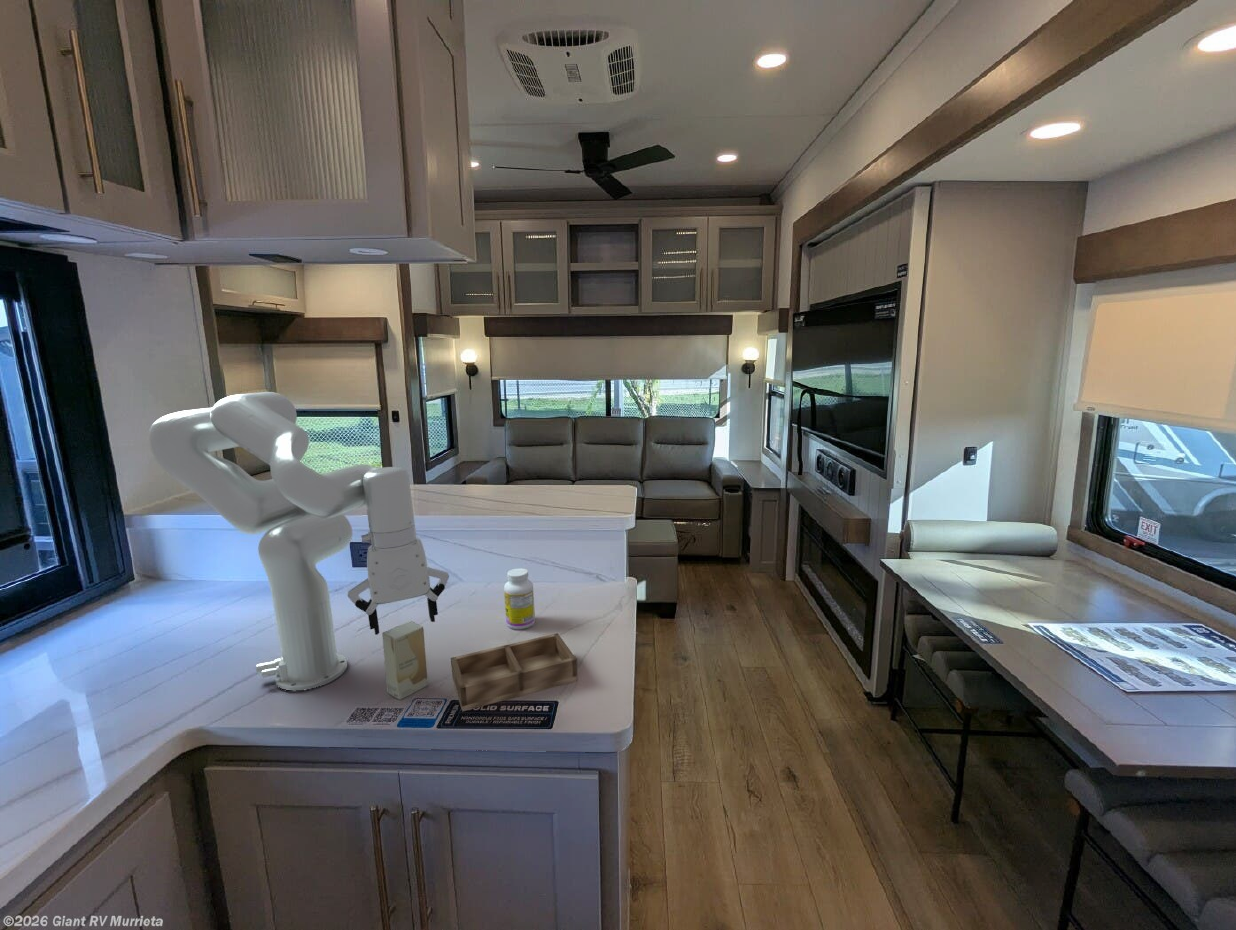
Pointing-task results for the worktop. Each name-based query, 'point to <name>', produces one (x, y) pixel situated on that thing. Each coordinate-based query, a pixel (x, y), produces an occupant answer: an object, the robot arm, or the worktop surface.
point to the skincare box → (405, 659)
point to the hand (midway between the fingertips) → (405, 625)
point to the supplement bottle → (519, 599)
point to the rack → (512, 671)
